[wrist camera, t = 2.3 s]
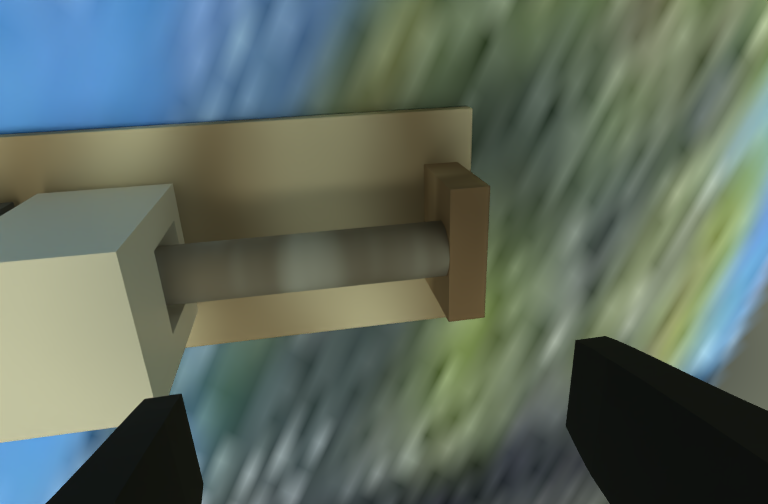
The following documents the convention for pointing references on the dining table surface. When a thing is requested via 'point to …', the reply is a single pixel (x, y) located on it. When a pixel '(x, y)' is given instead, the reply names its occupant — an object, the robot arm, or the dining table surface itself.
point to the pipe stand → (293, 214)
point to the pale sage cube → (86, 309)
